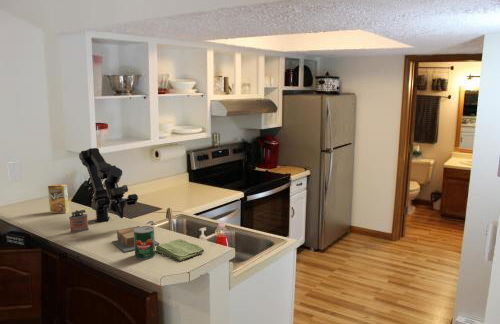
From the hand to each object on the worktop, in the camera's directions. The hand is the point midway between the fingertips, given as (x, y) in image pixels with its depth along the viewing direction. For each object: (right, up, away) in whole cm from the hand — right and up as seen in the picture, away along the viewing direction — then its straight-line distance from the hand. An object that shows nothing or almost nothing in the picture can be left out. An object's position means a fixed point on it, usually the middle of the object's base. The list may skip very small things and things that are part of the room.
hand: (122, 217), depth 196 cm
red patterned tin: (-22, -7, +6) cm, 24 cm away
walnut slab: (+4, -6, -5) cm, 9 cm away
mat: (+9, -10, -11) cm, 17 cm away
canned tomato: (+17, -12, -25) cm, 32 cm away
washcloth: (+30, -12, -21) cm, 38 cm away
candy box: (-45, -2, +38) cm, 59 cm away
